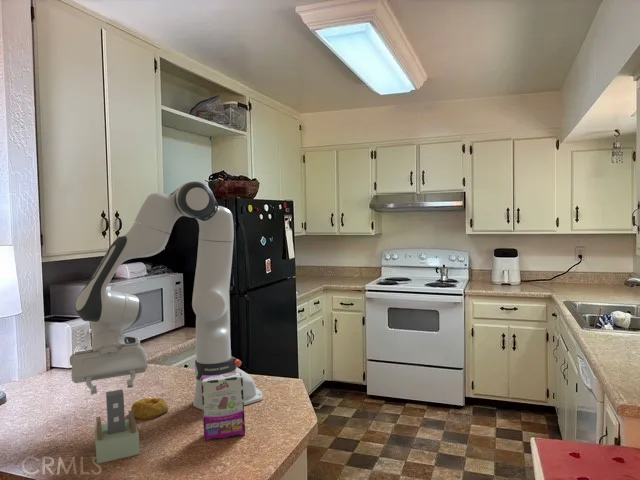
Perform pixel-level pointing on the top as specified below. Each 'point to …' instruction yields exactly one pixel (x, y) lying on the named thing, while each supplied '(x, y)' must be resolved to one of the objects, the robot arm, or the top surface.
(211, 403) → the candy bar box
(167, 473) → the top surface
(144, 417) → the bagel
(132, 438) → the bracket shelf
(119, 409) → the tall grey pillar
